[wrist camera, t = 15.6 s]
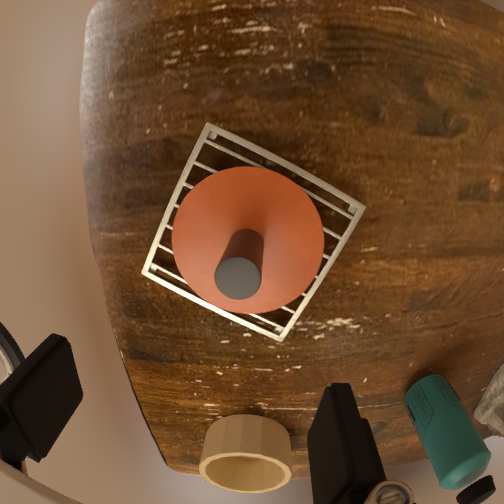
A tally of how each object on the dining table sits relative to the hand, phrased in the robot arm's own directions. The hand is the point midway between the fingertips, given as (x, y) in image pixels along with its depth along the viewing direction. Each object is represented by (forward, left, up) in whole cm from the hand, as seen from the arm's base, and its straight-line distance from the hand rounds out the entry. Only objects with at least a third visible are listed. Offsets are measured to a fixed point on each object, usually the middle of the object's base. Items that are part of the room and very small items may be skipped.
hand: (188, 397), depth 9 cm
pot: (+13, -25, -19) cm, 34 cm away
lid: (0, +1, -17) cm, 17 cm away
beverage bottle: (+29, -6, -20) cm, 36 cm away
